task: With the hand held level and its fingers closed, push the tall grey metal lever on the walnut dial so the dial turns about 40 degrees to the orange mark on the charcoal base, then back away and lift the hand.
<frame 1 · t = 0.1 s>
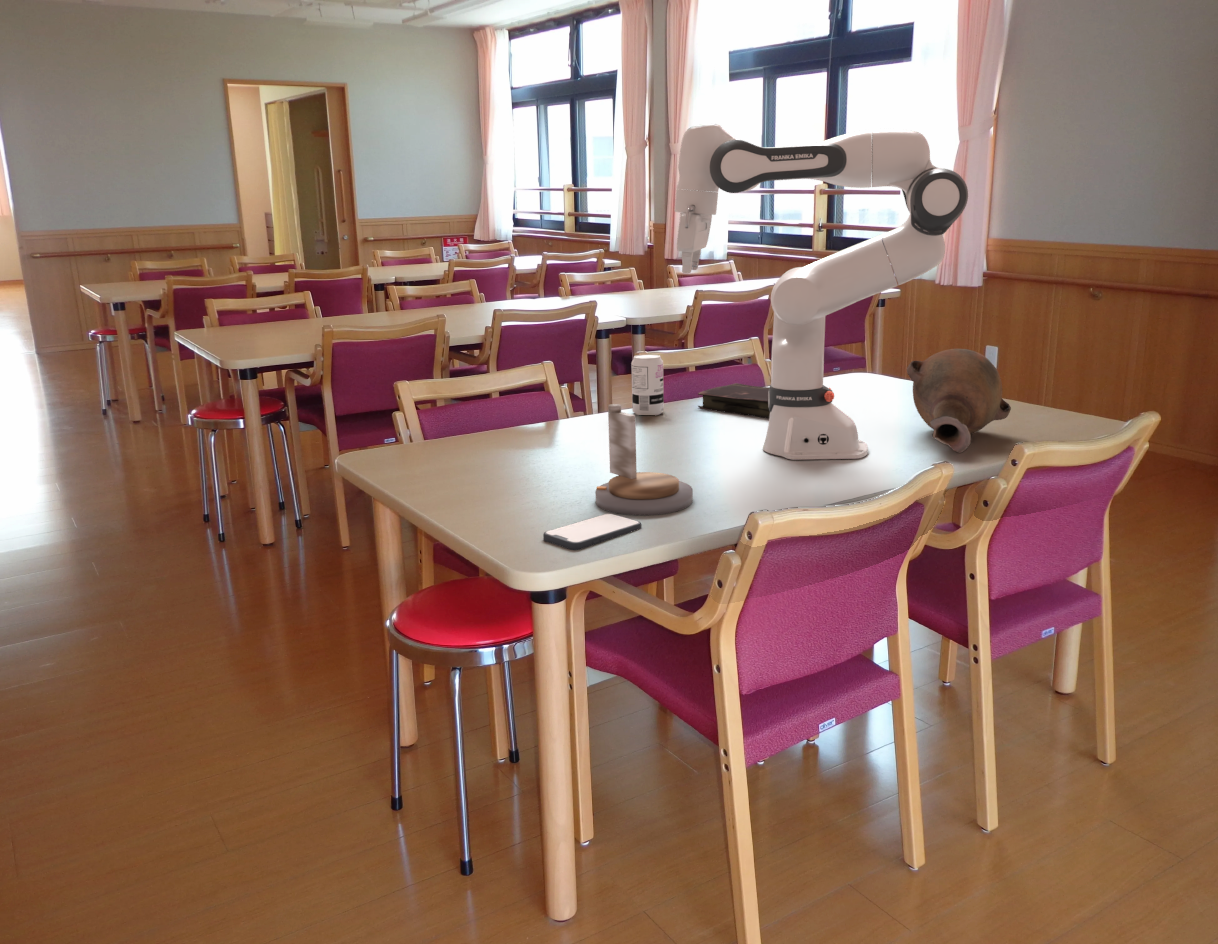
hand: (689, 271, 213), 39 cm above the table, fingers open, 8 cm apart
smartphone: (593, 536, 167), on the table
dial: (638, 449, 182), point 10 cm above the table, hinge at 0.0°
diary: (754, 410, 262), on the table
supplement can: (648, 414, 260), on the table
dial base: (644, 500, 184), on the table
jug: (952, 440, 223), on the table
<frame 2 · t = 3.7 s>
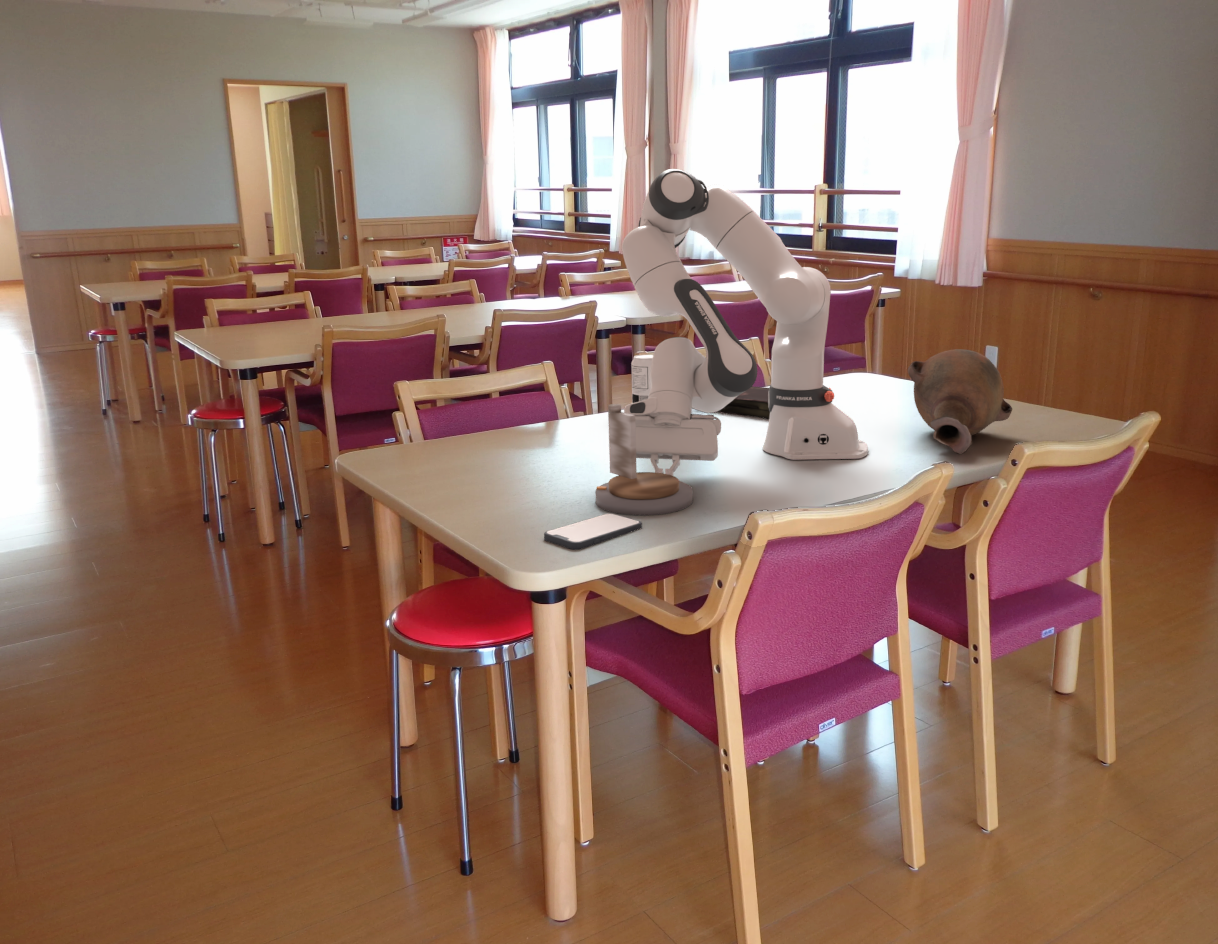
hand: (663, 478, 191), 2 cm above the table, fingers closed, pressing on dial base
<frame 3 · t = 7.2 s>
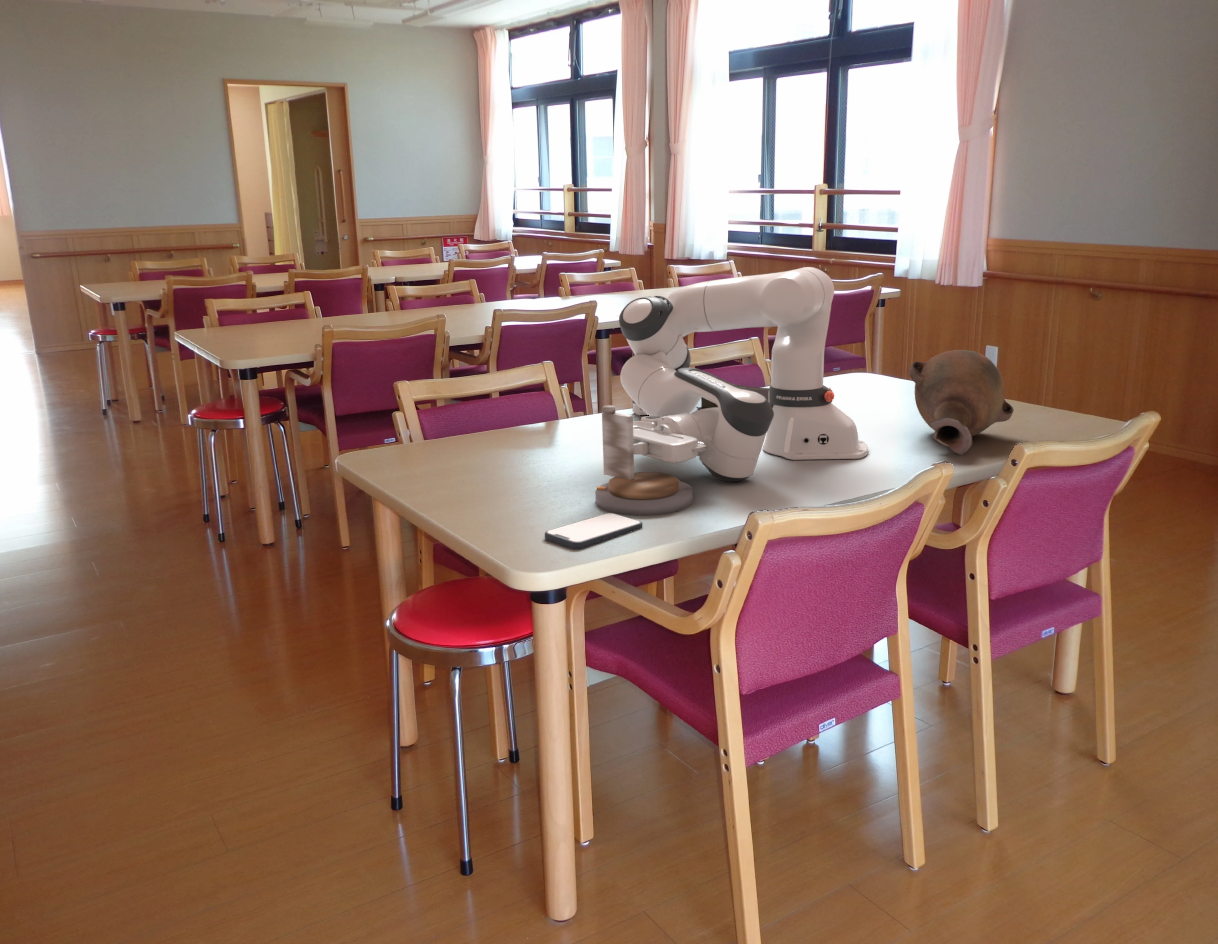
hand: (620, 450, 186), 9 cm above the table, fingers closed, pressing on dial
dial: (637, 449, 182), point 10 cm above the table, hinge at 11.0°, touching gripper
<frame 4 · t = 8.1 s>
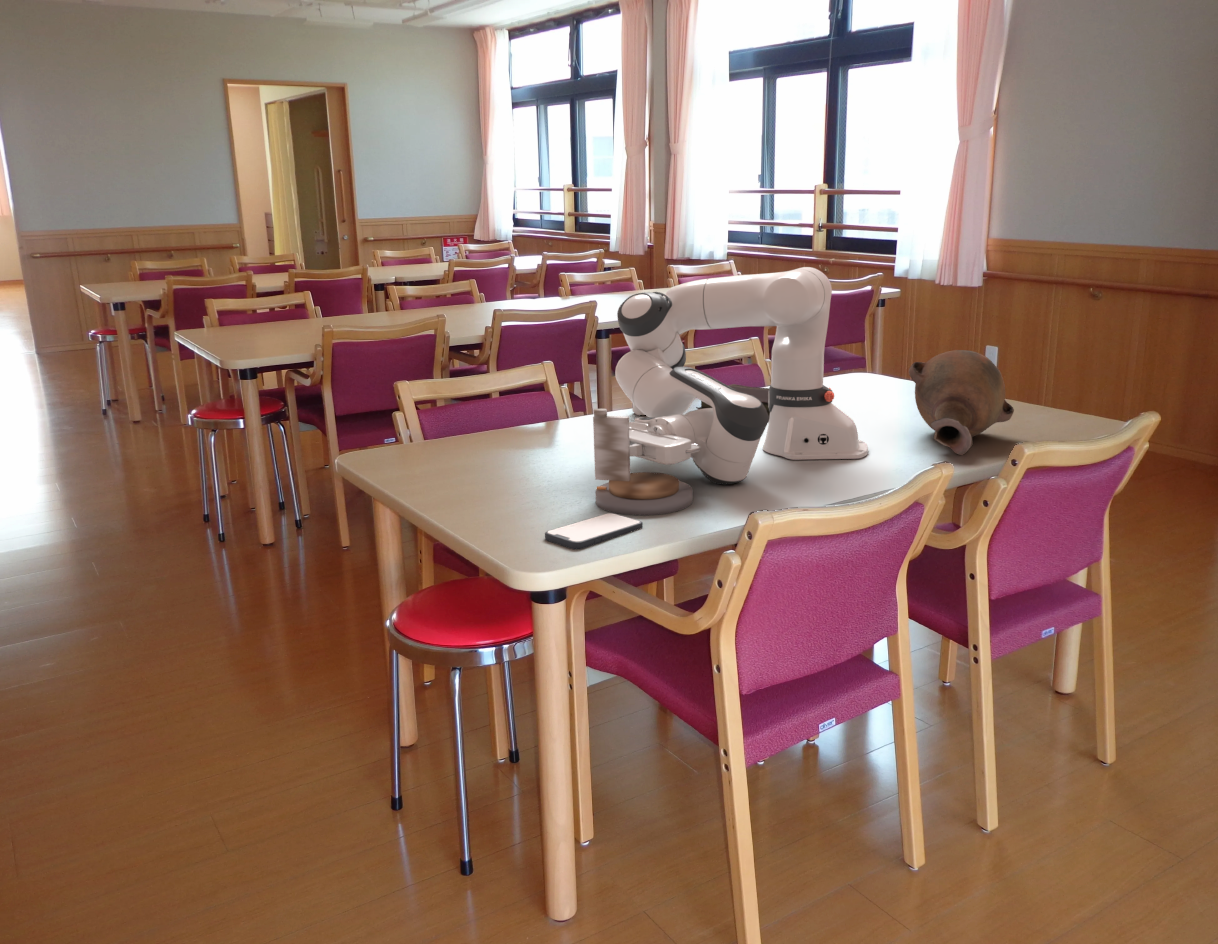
hand: (613, 452, 185), 9 cm above the table, fingers closed
dial: (635, 450, 182), point 10 cm above the table, hinge at 34.0°, touching gripper
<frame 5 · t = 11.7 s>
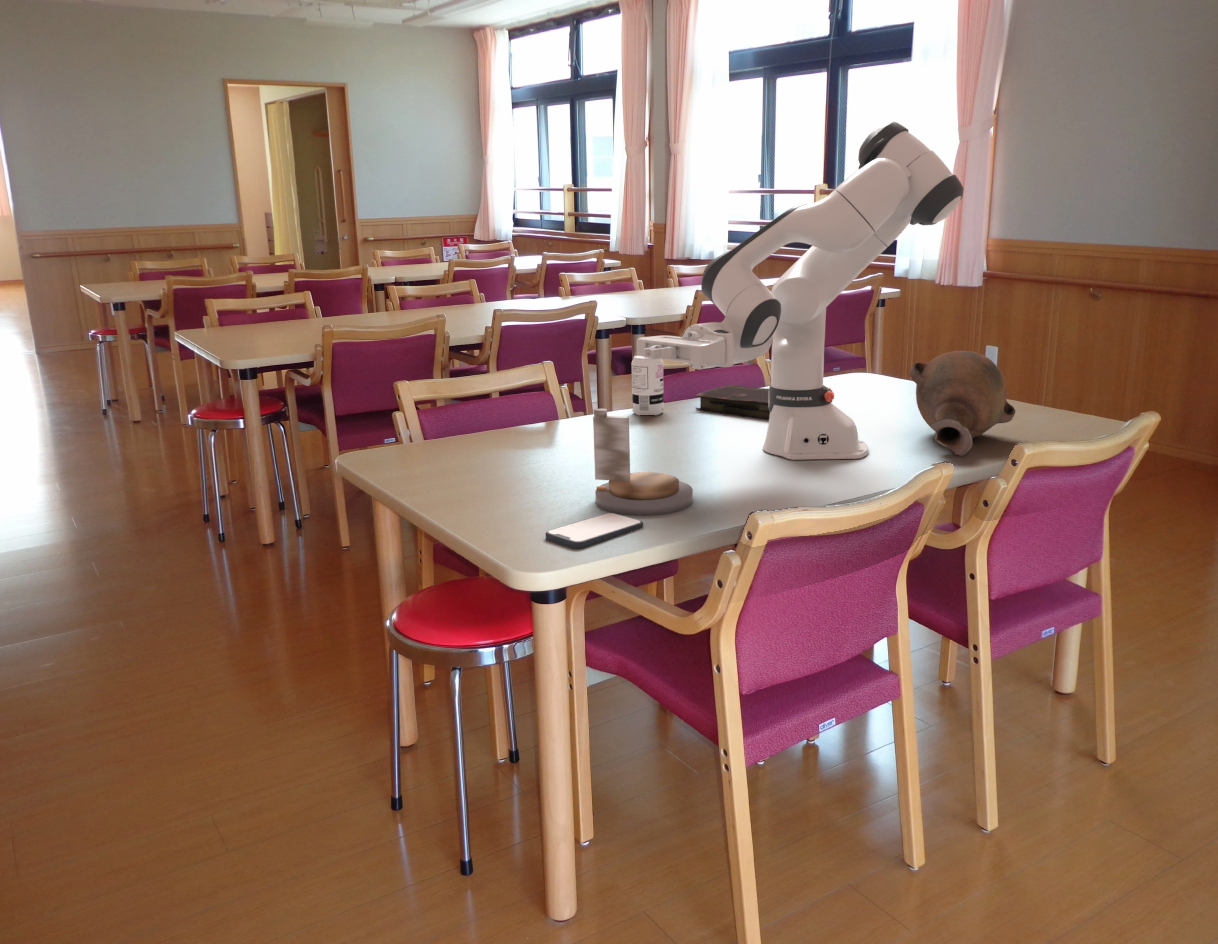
hand: (648, 354, 186), 26 cm above the table, fingers closed
dial: (635, 450, 182), point 10 cm above the table, hinge at 34.1°
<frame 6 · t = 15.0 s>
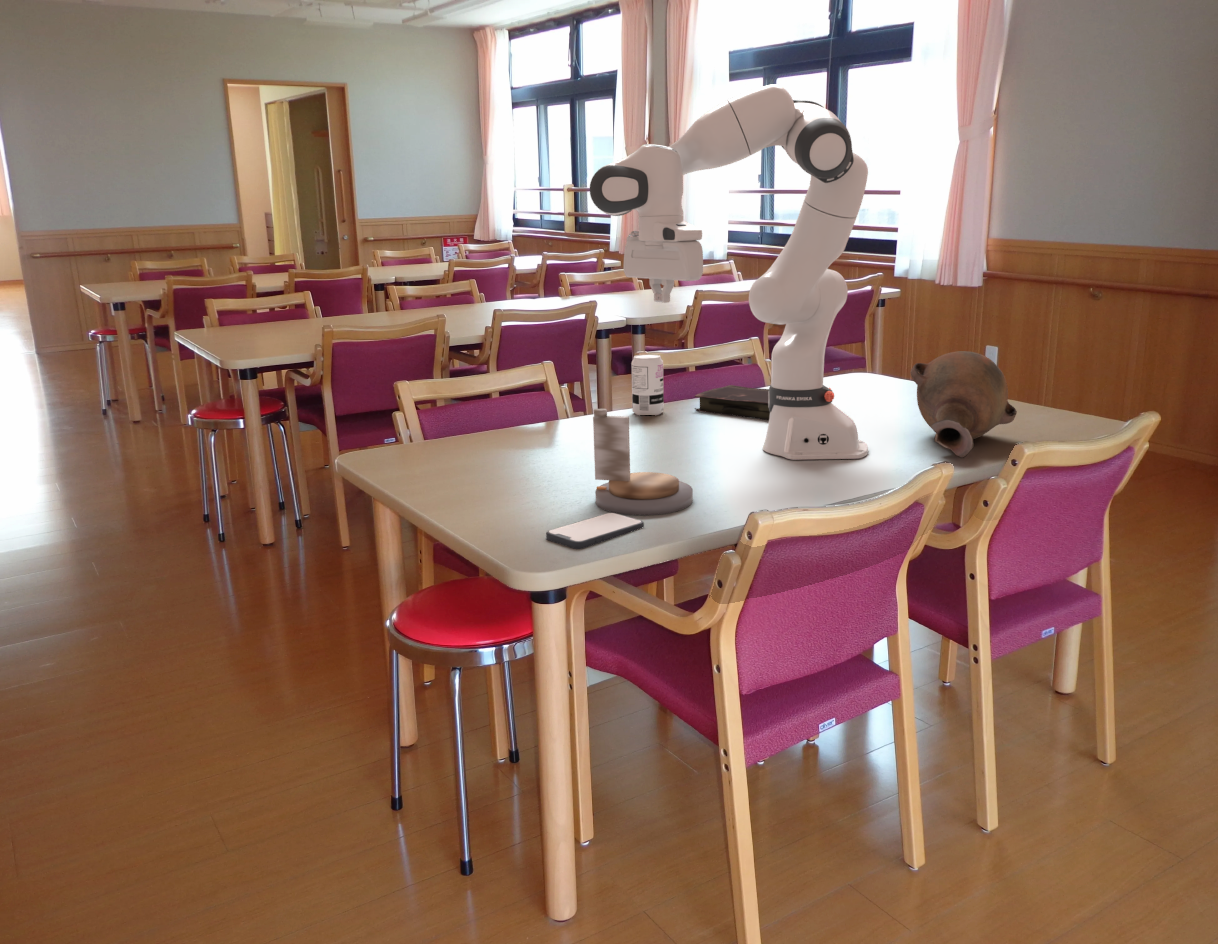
hand: (662, 302, 198), 34 cm above the table, fingers closed
at the end: dial at +34° (first picture: +0°) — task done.
